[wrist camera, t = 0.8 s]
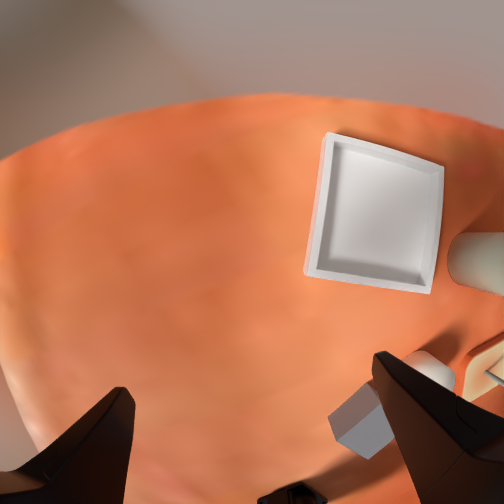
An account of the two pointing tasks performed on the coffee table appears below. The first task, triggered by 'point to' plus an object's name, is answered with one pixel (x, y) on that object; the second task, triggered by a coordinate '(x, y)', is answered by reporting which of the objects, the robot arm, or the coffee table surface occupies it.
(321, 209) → the white tray
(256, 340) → the coffee table surface
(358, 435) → the grey block
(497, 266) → the pale green cylinder
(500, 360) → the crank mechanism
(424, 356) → the white rounded cylinder
